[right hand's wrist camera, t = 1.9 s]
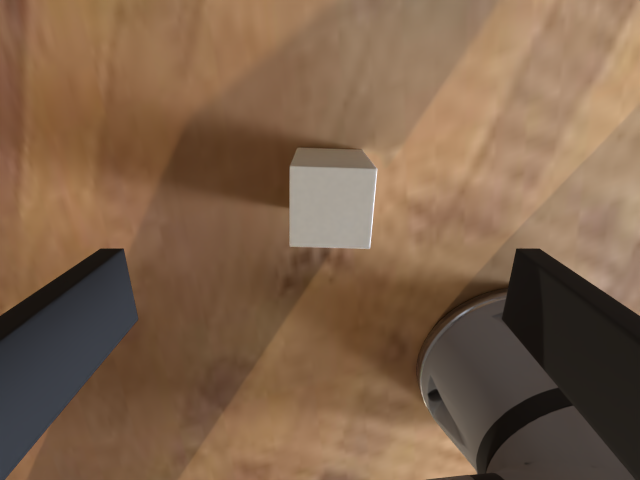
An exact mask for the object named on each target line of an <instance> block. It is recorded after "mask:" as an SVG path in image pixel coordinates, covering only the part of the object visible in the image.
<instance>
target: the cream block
mask: <svg viewBox="0 0 640 480" xmlns="http://www.w3.org/2000/svg"><path fill="white" fill-rule="evenodd" d="M376 177H377V168H376V167H375V166H374V164H373V163H372V162H371V161H370V159H369V158H368V157H367V155H366V154H365V153H364V152H363V150H356V149H326V148H297V150H296V152H295V155H294V157H293V160H292V162H291V164H290V211H289V246H290V247H323V248H357V249H370V243H371V232H372V221H373V210H374V199H375V188H376Z"/></svg>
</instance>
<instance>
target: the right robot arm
mask: <svg viewBox="0 0 640 480" xmlns="http://www.w3.org/2000/svg"><path fill="white" fill-rule="evenodd" d="M137 320H138V315H137V310H136V306H135V301H134V296H133V291H132V287H131V282H130V277H129V272H128V267H127V263H126V258H125V253H124V249H99V250H98V251H96V252H95V253H93V254H92V255H90V256H89V257H87V258H86V259H84V260H83V261H82V262H80V263H79V264H77V265H76V266H74V267H73V268H71V269H70V270H68V271H67V272H65V273H64V274H62V275H61V276H59V277H58V278H56V279H55V280H53V281H52V282H50V283H49V284H47V285H46V286H44V287H43V288H41V289H40V290H38V291H37V292H35V293H34V294H32V295H31V296H29V297H28V298H26V299H25V300H23V301H22V302H20V303H19V304H17V305H16V306H15V307H13V308H12V309H10V310H9V311H7V312H6V313H4V314H3V315H1V316H0V480H5V479H6V478H7V476H8V475H9V474H10V473H11V472H12V470H13V469H14V468H15V467H16V466H17V464H18V463H19V462H20V461H21V460H22V458H23V457H24V456H25V455H26V454H27V452H28V451H29V450H30V449H31V448H32V446H33V445H34V444H35V443H36V442H37V440H38V439H39V438H40V437H41V436H42V434H43V433H44V432H45V431H46V430H47V428H48V427H49V426H50V425H51V424H52V422H53V421H54V420H55V419H56V418H57V416H58V415H59V414H60V413H61V412H62V410H63V409H64V408H65V407H66V406H67V404H68V403H69V402H70V401H71V400H72V398H73V397H74V396H75V395H76V394H77V392H78V391H79V390H80V389H81V388H82V386H83V385H84V384H85V383H86V382H87V380H88V379H89V378H90V377H91V376H92V374H93V373H94V372H95V371H96V370H97V368H98V367H99V366H100V365H101V364H102V362H103V361H104V360H105V359H106V358H107V356H108V355H109V354H110V353H111V352H112V350H113V349H114V348H115V347H116V346H117V344H118V343H119V342H120V341H121V340H122V338H123V337H124V336H125V335H126V334H127V332H128V331H129V330H130V329H131V328H132V326H133V325H134V324H135V323H136V322H137ZM417 381H418V385H419V388H420V391H421V394H422V397H423V400H424V402H425V405H426V406H427V408H428V410H429V412H430V413H431V415H432V417H433V418H434V420H435V421H436V422H437V424H438V425H439V426H440V427H441V428H442V430H443V431H444V432H445V433H446V434H447V436H448V437H449V438H450V439H451V441H452V442H453V443H454V444H455V445H456V447H457V448H458V449H459V450H460V451H461V453H462V454H463V455H464V456H465V457H466V459H467V460H468V461H469V462H470V463H471V465H472V466H473V467H474V468H475V470H476V472H477V474H476V475H463V476H455V477H446V478H437V479H428V480H640V316H639V315H637V314H636V313H634V312H633V311H631V310H630V309H628V308H627V307H625V306H624V305H623V304H621V303H620V302H618V301H617V300H615V299H614V298H612V297H611V296H609V295H608V294H606V293H605V292H603V291H602V290H600V289H599V288H597V287H596V286H594V285H593V284H591V283H590V282H588V281H587V280H585V279H584V278H582V277H581V276H579V275H578V274H576V273H575V272H573V271H572V270H570V269H569V268H567V267H566V266H564V265H563V264H561V263H560V262H558V261H557V260H556V259H554V258H553V257H551V256H550V255H548V254H547V253H545V252H544V251H542V250H541V249H516V253H515V258H514V263H513V267H512V272H511V277H510V282H509V287H508V288H506V289H500V290H496V291H492V292H488V293H485V294H482V295H479V296H477V297H475V298H472V299H470V300H468V301H466V302H465V303H463V304H461V305H459V306H458V307H456V308H455V309H453V310H452V311H451V312H449V313H448V314H447V315H446V316H445V317H444V318H442V319H441V320H440V321H439V322H438V323H437V325H436V326H435V327H434V328H433V329H432V331H431V332H430V333H429V335H428V336H427V338H426V340H425V341H424V343H423V345H422V348H421V350H420V353H419V357H418V361H417Z"/></svg>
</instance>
